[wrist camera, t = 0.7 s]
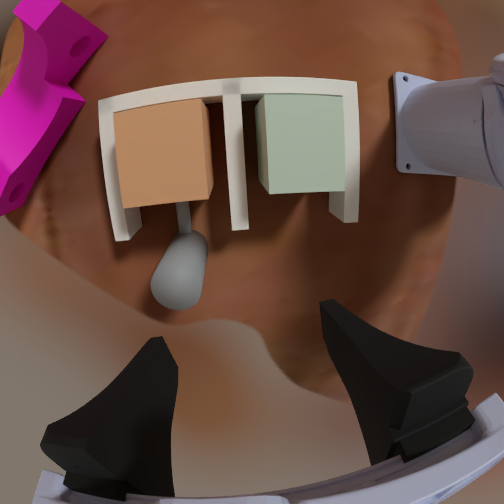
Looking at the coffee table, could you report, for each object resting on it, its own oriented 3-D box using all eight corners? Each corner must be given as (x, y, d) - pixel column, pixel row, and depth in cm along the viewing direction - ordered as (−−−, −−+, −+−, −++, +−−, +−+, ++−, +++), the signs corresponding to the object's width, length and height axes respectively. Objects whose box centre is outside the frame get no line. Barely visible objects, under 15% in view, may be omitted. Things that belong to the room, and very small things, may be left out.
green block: (312, 107, 17) (342, 97, 12) (315, 177, 19) (344, 191, 14) (254, 107, 17) (264, 94, 12) (258, 179, 19) (269, 194, 14)
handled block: (208, 110, 17) (199, 96, 11) (222, 263, 21) (219, 307, 16) (143, 119, 17) (109, 112, 11) (162, 267, 21) (142, 311, 15)
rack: (339, 88, 17) (356, 81, 14) (341, 210, 20) (358, 222, 18) (115, 105, 16) (98, 100, 13) (129, 227, 20) (115, 241, 17)
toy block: (24, 205, 18) (-34, 234, 11) (-11, 163, 16) (-67, 180, 9) (129, 52, 15) (83, 17, 8) (84, 18, 13) (35, -15, 6)
